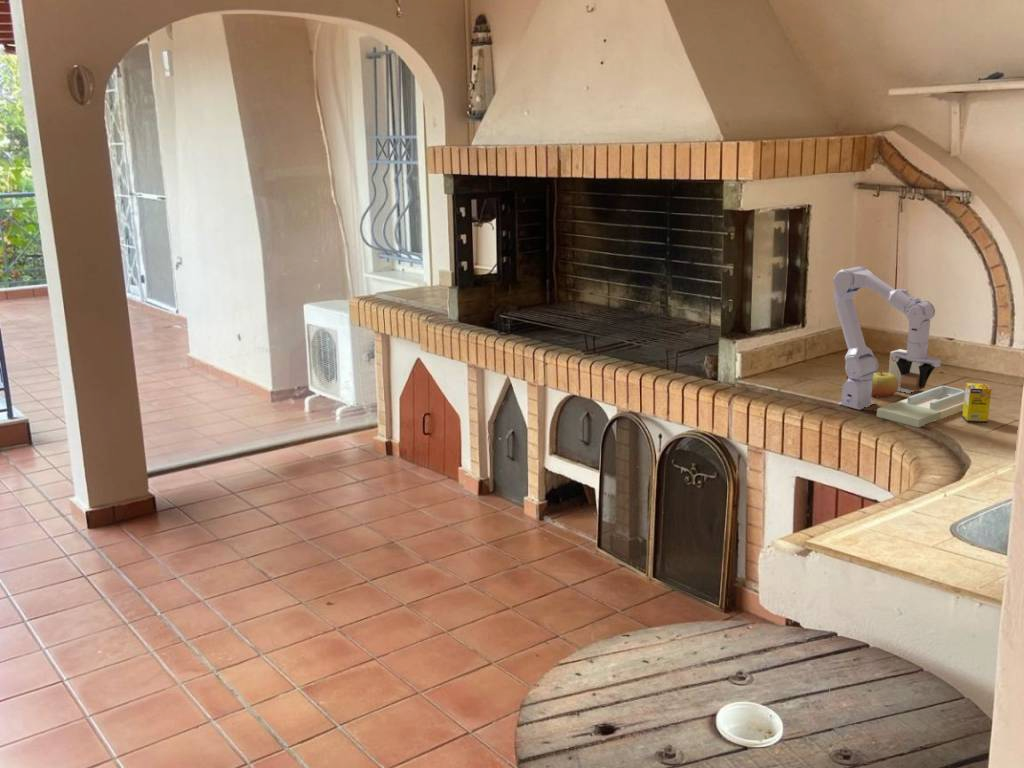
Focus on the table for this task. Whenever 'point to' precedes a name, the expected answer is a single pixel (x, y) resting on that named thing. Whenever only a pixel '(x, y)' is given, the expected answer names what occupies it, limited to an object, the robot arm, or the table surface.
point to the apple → (884, 384)
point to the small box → (895, 370)
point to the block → (910, 381)
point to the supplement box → (976, 403)
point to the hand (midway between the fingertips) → (913, 385)
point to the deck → (925, 406)
